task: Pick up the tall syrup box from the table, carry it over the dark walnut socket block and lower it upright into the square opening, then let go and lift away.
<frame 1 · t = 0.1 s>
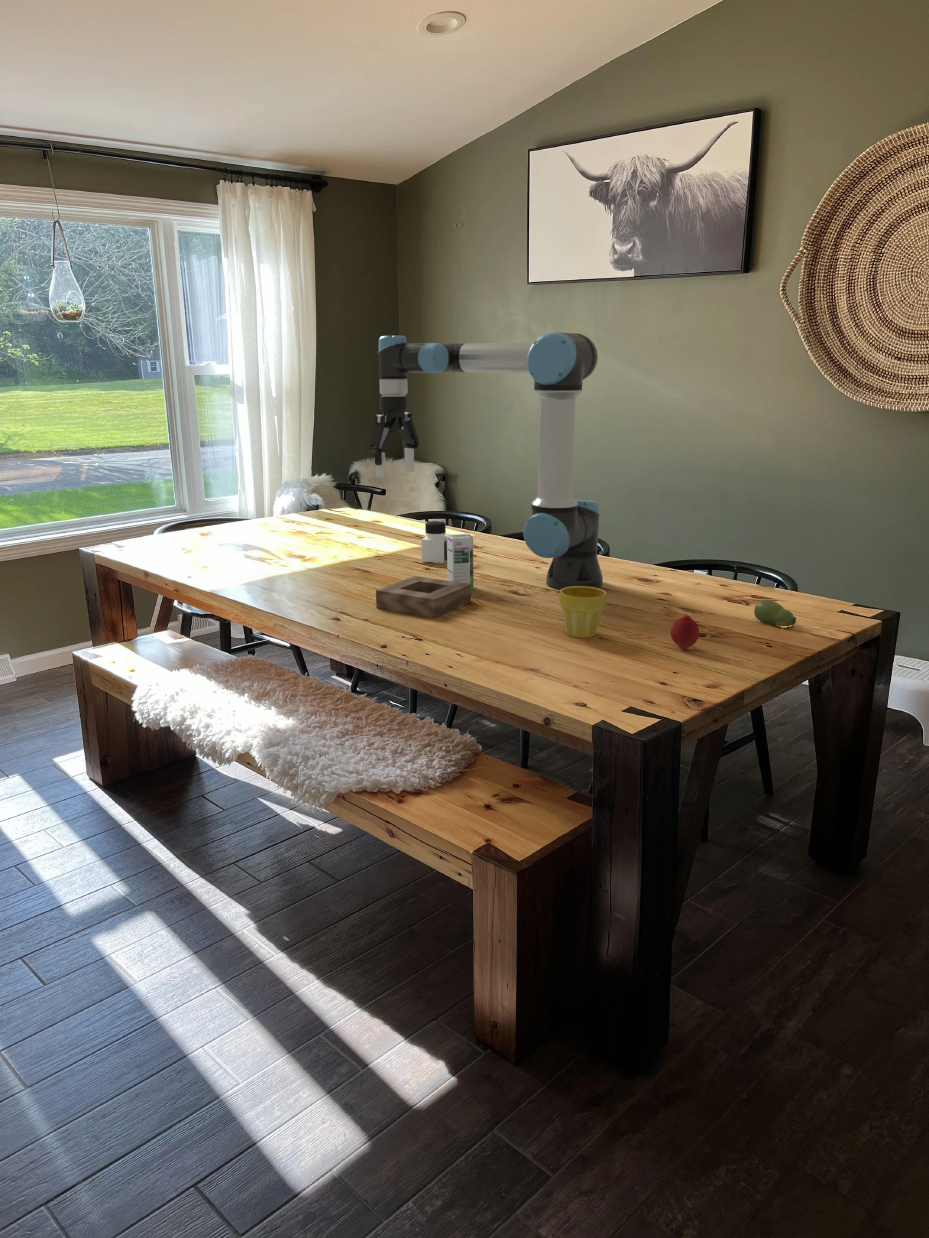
hand: (395, 474, 247), 28 cm above the table, tool pointing down, fingers open, 13 cm apart
medicine bottle: (435, 561, 270), on the table
syrup box: (460, 589, 238), on the table
pear: (774, 625, 206), on the table
onion: (683, 650, 189), on the table
socket block: (424, 604, 222), on the table
plant pot: (581, 634, 199), on the table
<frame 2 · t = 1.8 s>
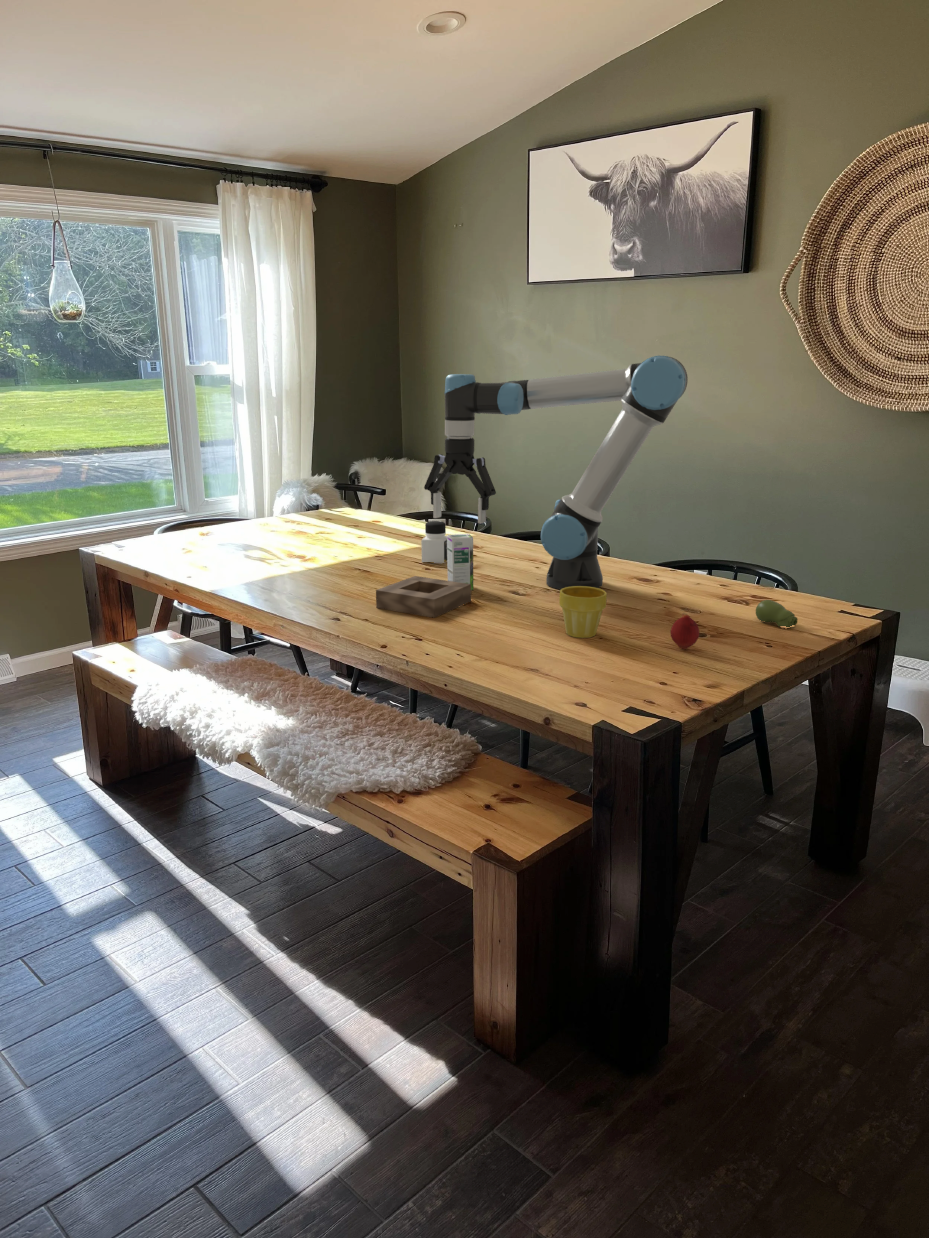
hand: (459, 520, 232), 18 cm above the table, tool pointing down, fingers open, 13 cm apart
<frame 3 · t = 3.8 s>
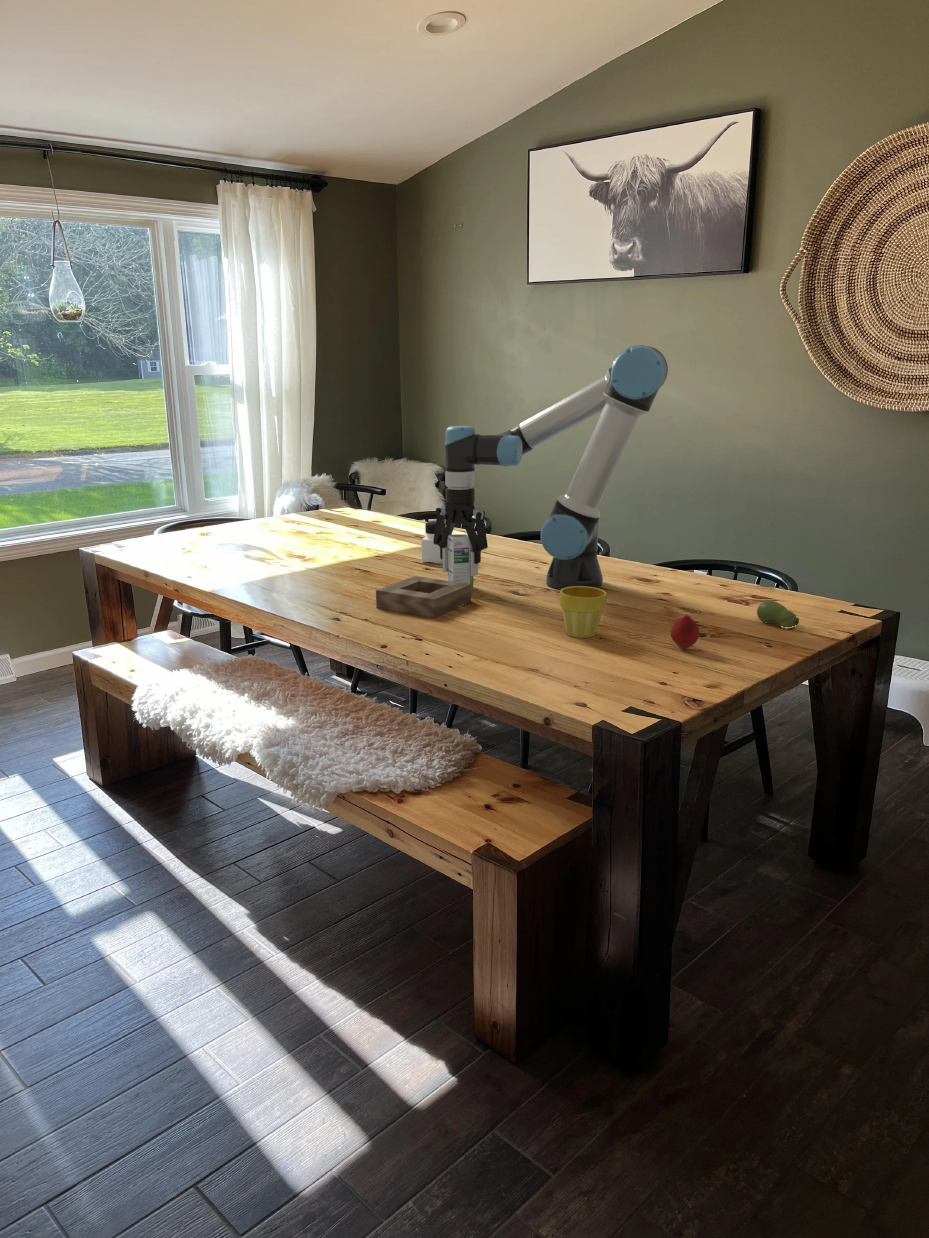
hand: (460, 573, 236), 4 cm above the table, tool pointing down, fingers closed on syrup box, 8 cm apart
syrup box: (460, 589, 238), on the table, touching gripper
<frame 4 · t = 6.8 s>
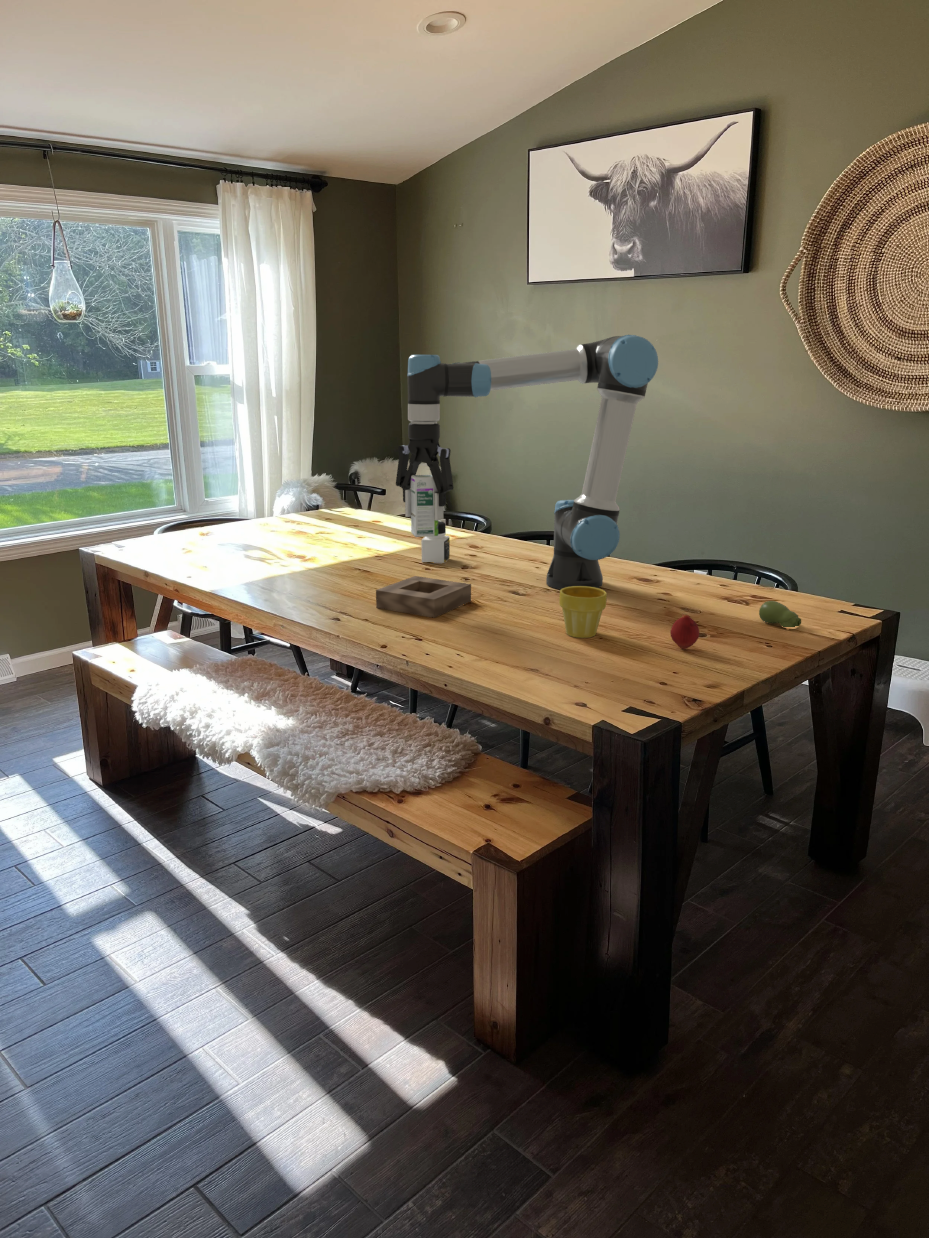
hand: (424, 517, 217), 22 cm above the table, tool pointing down, fingers closed on syrup box, 8 cm apart
syrup box: (424, 535, 219), point 17 cm above the table, touching gripper
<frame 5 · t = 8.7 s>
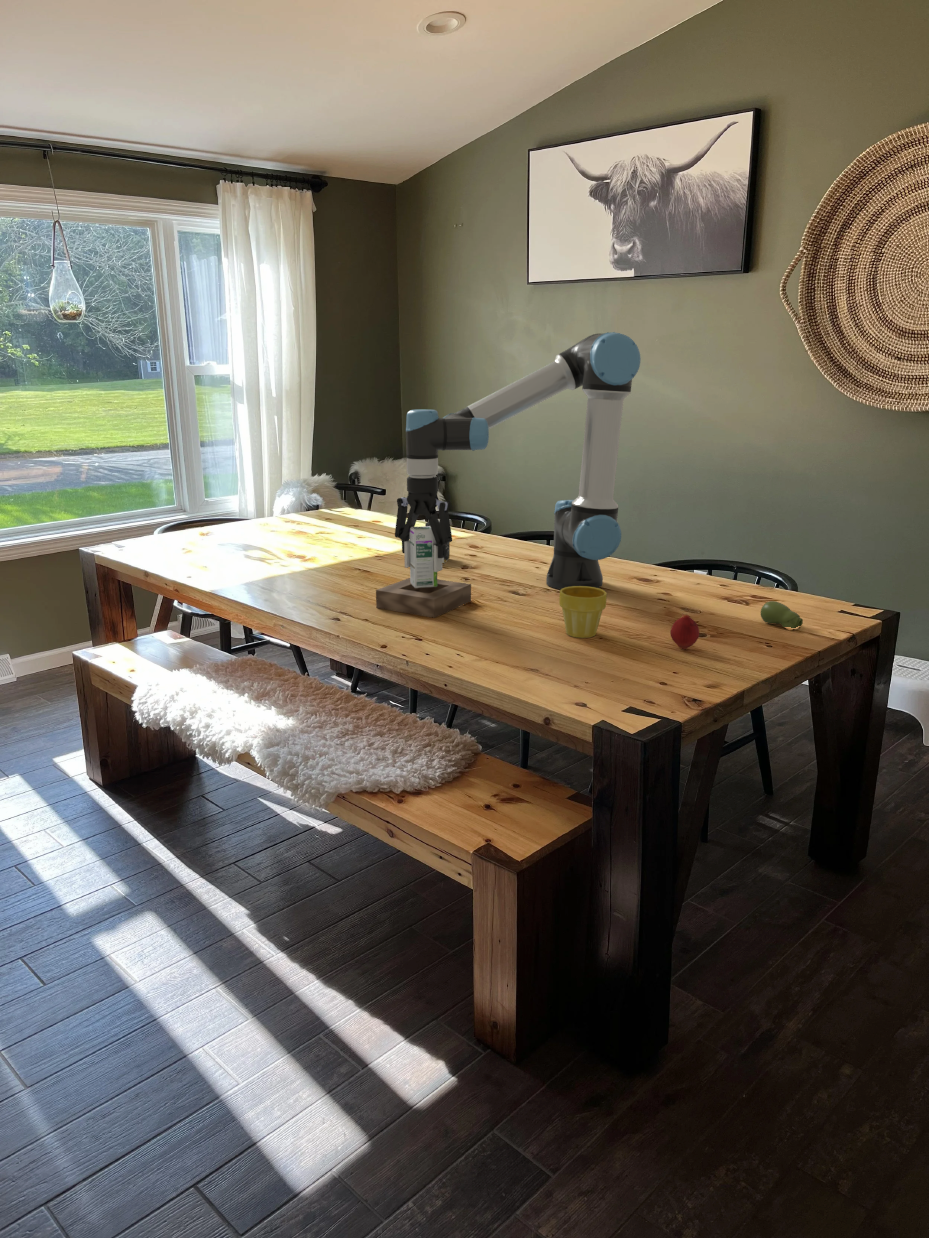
hand: (423, 568, 220), 9 cm above the table, tool pointing down, fingers closed on syrup box, 8 cm apart
syrup box: (423, 586, 221), point 5 cm above the table, touching gripper
when the fingers open (7 cm above the table, at t = 9.9 s): syrup box drops 3 cm, resting in socket block.
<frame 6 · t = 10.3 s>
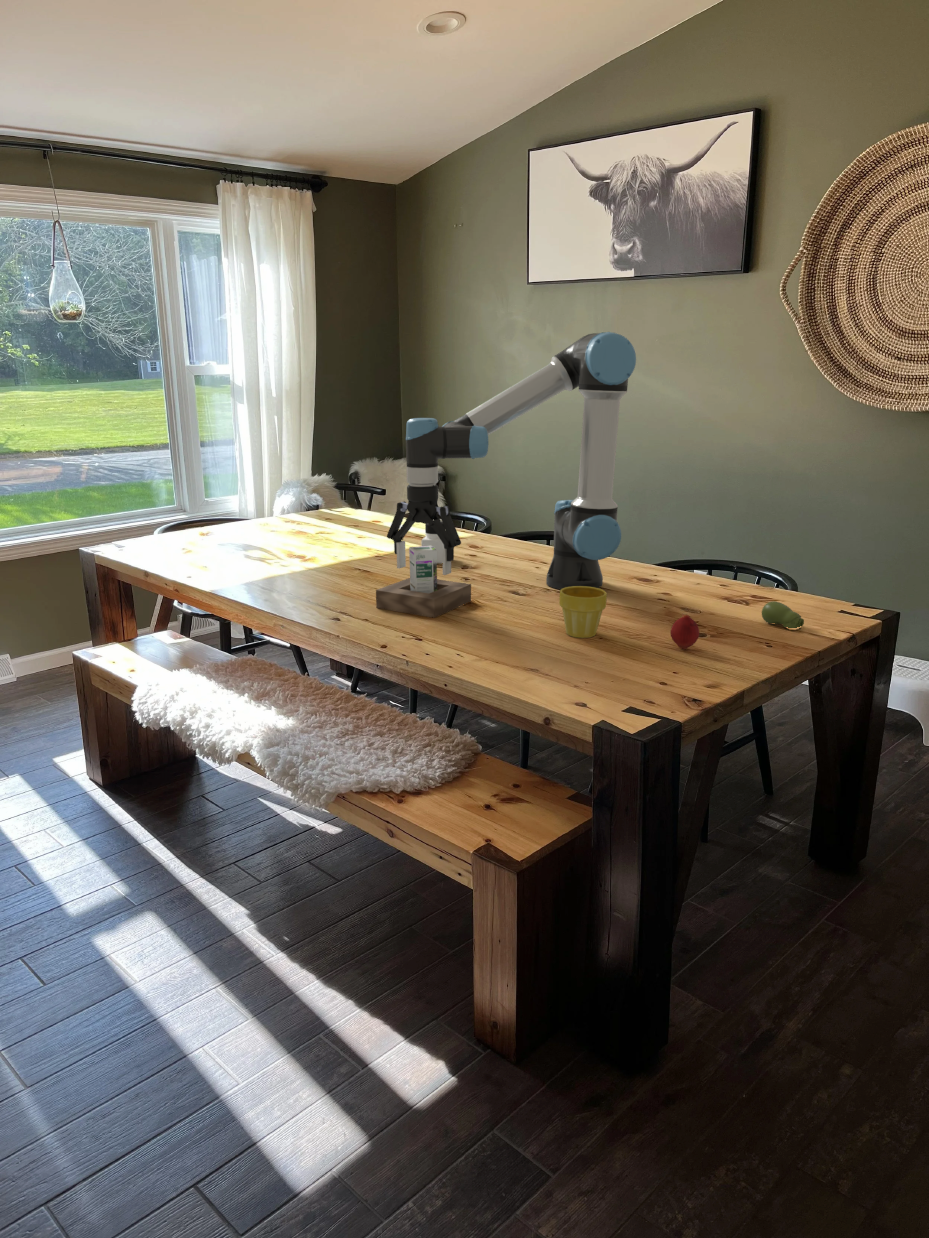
hand: (423, 570, 220), 9 cm above the table, tool pointing down, fingers open, 13 cm apart
syrup box: (423, 605, 223), resting in socket block
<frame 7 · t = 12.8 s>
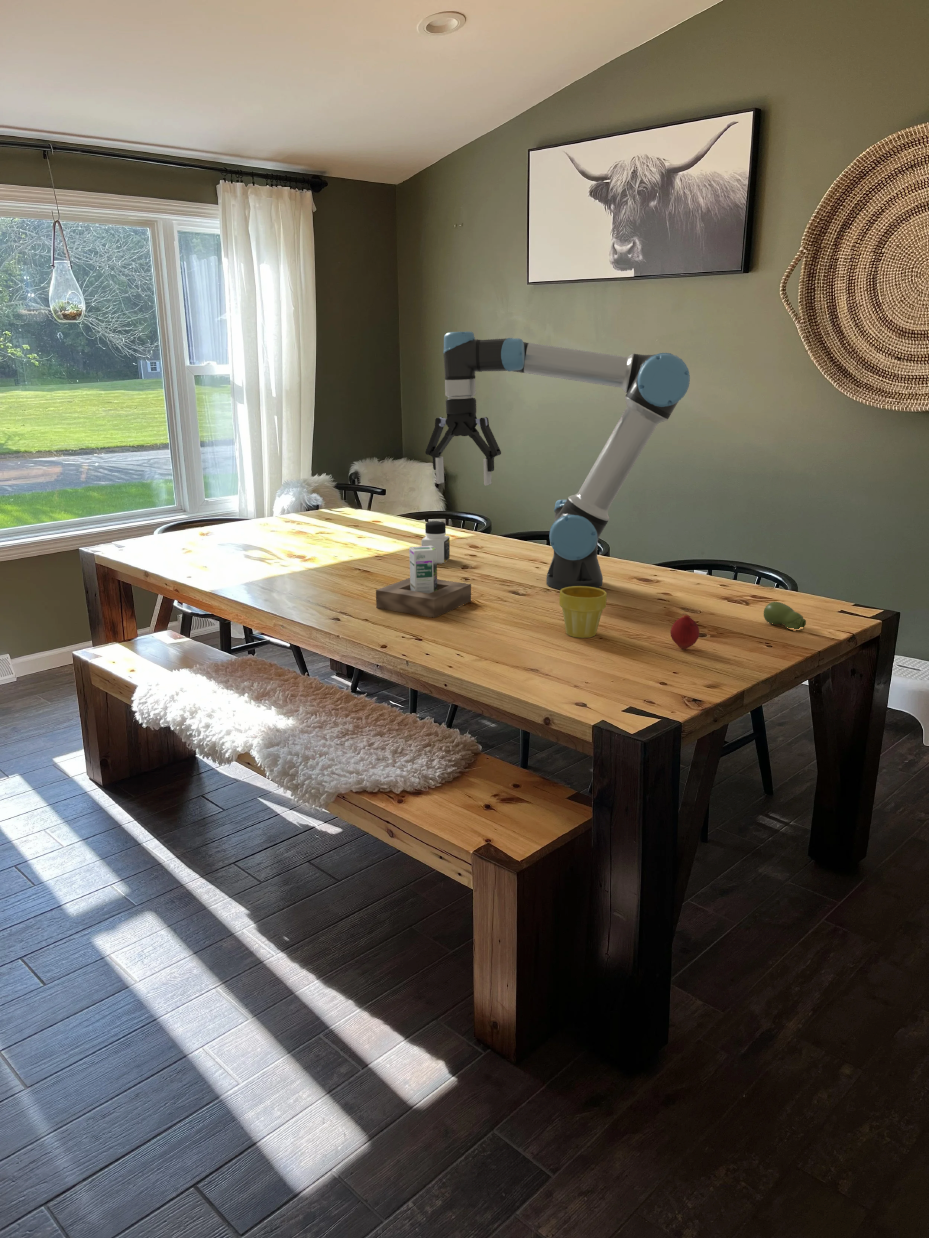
hand: (463, 484, 226), 28 cm above the table, tool pointing down, fingers open, 13 cm apart
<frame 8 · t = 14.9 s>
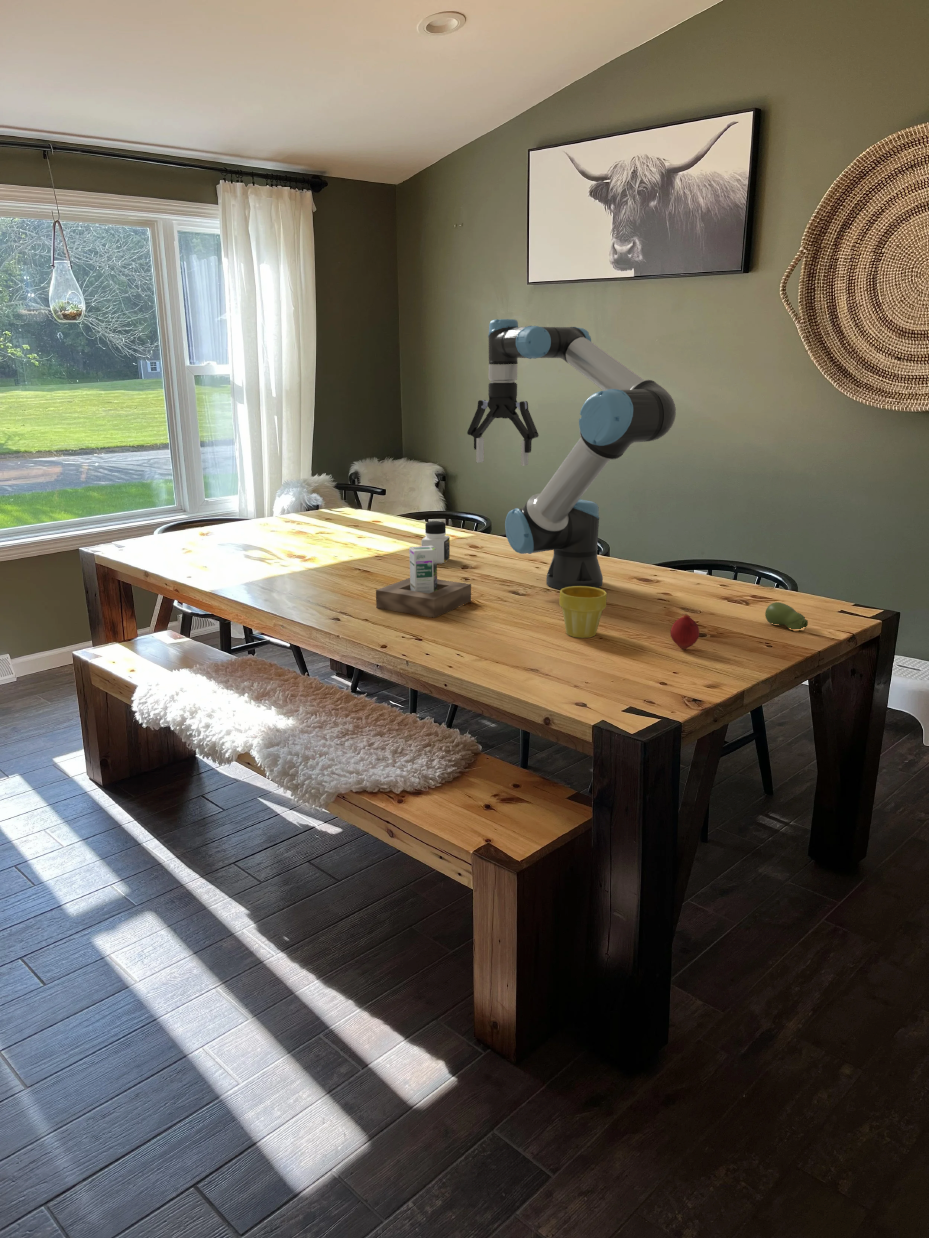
hand: (502, 463, 239), 32 cm above the table, tool pointing down, fingers open, 13 cm apart
at the end: syrup box 0.2 cm off-centre on the socket block, point 0.0 cm above the socket block's base; syrup box tilted 0°; the gripper is holding nothing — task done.
